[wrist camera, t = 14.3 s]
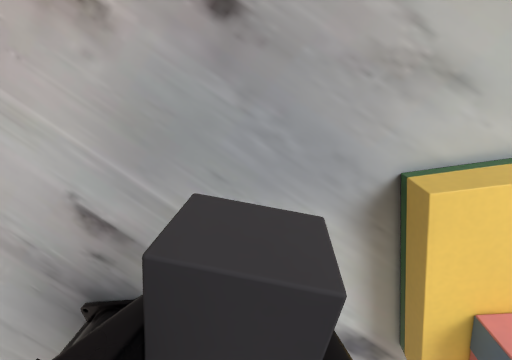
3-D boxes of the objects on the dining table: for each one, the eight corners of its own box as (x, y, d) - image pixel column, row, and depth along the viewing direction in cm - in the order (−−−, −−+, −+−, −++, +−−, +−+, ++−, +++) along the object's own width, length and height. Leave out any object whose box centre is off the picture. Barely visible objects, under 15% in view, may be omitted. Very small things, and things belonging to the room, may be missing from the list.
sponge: (532, 340, 20) (579, 388, 17) (400, 344, 22) (420, 389, 18) (581, 148, 15) (663, 165, 12) (400, 172, 16) (429, 193, 13)
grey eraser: (286, 346, 10) (287, 455, 7) (184, 325, 10) (144, 422, 7) (324, 216, 7) (348, 296, 5) (193, 191, 8) (140, 255, 5)
